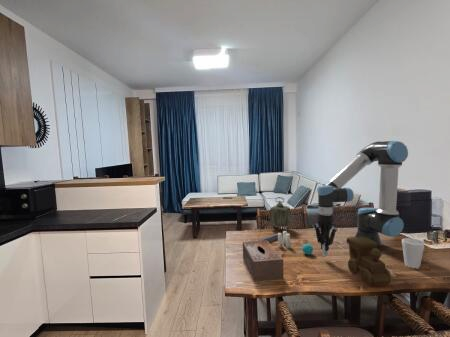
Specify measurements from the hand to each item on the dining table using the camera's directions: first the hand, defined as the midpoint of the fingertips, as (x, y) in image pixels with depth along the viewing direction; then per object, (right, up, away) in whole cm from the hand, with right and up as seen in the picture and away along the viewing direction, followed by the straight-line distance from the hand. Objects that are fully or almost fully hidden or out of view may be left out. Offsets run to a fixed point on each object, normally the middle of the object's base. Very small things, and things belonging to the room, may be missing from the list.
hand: (324, 255), depth 143 cm
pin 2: (-16, -1, +25) cm, 29 cm away
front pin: (-15, -1, +20) cm, 25 cm away
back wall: (-25, -1, +31) cm, 40 cm away
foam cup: (+42, -2, -8) cm, 43 cm away
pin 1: (-20, -1, +21) cm, 29 cm away
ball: (-7, +1, +9) cm, 11 cm away
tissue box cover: (-36, -5, -6) cm, 37 cm away
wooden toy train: (+13, -4, -19) cm, 23 cm away
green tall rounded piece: (-13, +1, +55) cm, 56 cm away
